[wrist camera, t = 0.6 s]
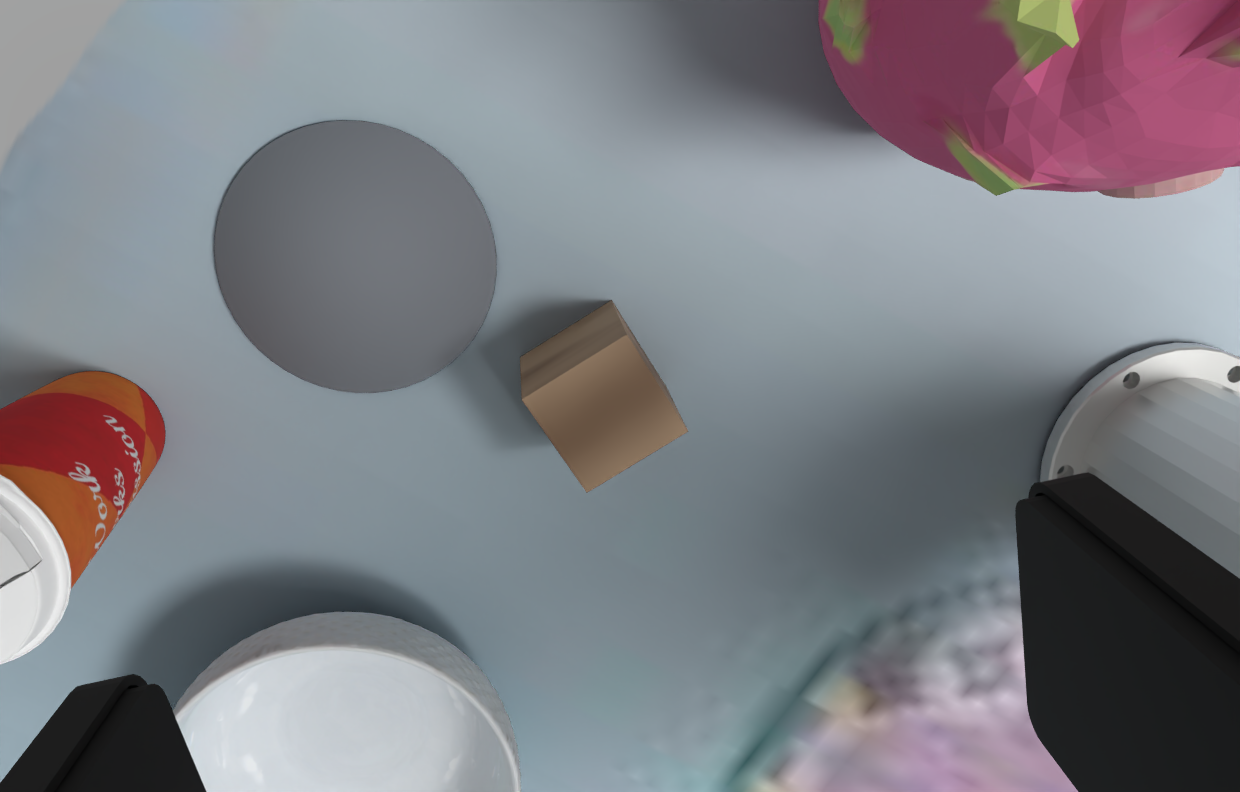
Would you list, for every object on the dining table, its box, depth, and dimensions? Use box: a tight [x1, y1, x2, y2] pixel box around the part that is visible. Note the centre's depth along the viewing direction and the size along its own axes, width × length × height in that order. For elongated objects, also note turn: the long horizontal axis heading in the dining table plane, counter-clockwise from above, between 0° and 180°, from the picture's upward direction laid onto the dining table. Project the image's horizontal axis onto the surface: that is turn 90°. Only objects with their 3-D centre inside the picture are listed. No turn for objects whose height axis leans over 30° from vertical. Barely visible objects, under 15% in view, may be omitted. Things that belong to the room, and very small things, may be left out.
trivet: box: [214, 120, 496, 393], centre depth 41 cm, size 12×12×1 cm
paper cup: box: [0, 371, 165, 664], centre depth 36 cm, size 8×8×14 cm
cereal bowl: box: [173, 611, 521, 792], centre depth 46 cm, size 17×17×7 cm
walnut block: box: [520, 300, 688, 492], centre depth 42 cm, size 5×5×6 cm
